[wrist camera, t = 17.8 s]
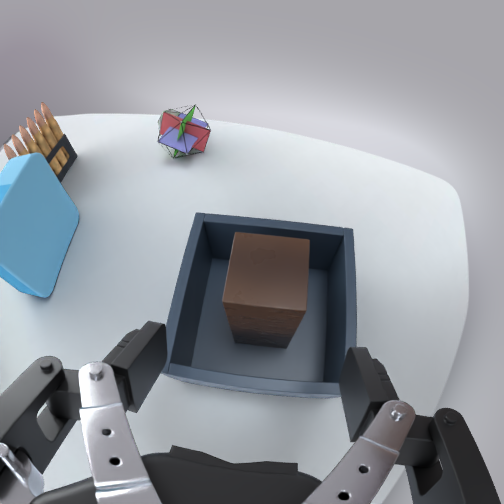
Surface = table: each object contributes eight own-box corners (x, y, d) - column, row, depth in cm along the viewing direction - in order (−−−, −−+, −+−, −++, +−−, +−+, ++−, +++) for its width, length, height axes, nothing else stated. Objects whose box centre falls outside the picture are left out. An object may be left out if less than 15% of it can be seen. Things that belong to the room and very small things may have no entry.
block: (286, 348, 23) (306, 311, 14) (234, 342, 23) (221, 301, 15) (291, 300, 25) (309, 239, 17) (241, 295, 26) (235, 231, 17)
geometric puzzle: (231, 127, 36) (192, 84, 31) (212, 159, 33) (166, 112, 28) (196, 146, 41) (160, 110, 36) (176, 177, 37) (135, 138, 32)
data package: (58, 214, 32) (14, 151, 22) (82, 214, 32) (38, 145, 21) (26, 296, 26) (-39, 244, 16) (50, 302, 26) (-20, 246, 15)
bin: (333, 267, 28) (353, 228, 22) (328, 398, 21) (354, 394, 16) (207, 254, 29) (195, 212, 23) (181, 381, 22) (156, 371, 17)
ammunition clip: (70, 156, 38) (41, 99, 28) (77, 155, 38) (49, 97, 28) (37, 207, 33) (-4, 150, 23) (45, 208, 33) (3, 148, 22)
